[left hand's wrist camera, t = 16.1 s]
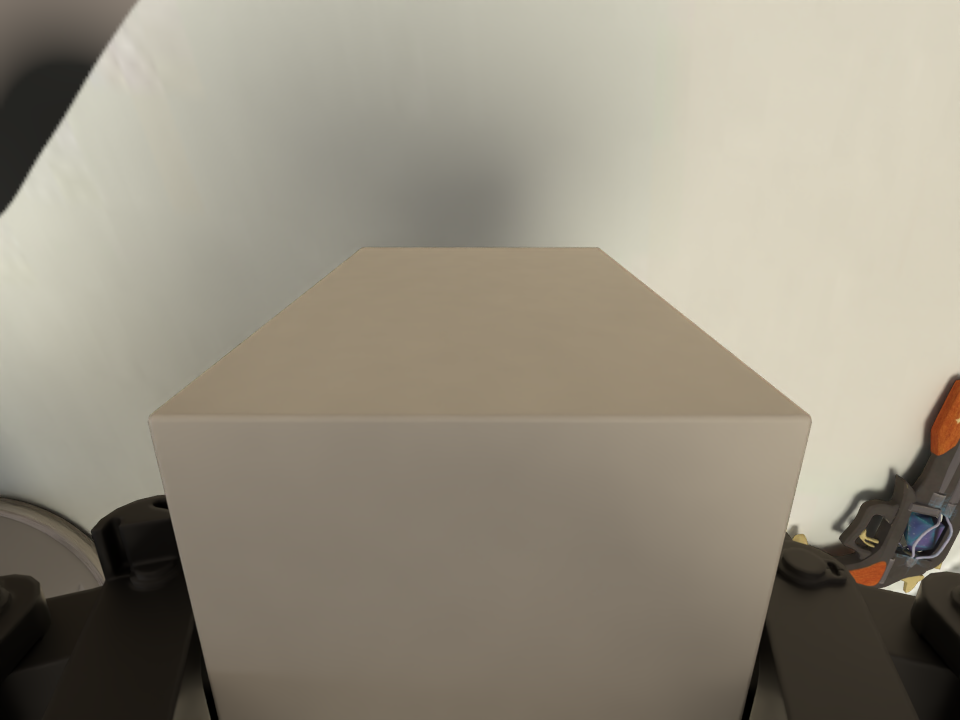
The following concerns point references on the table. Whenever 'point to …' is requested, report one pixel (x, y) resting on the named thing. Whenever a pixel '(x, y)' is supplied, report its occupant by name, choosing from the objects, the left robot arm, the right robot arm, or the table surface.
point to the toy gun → (912, 514)
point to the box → (480, 497)
